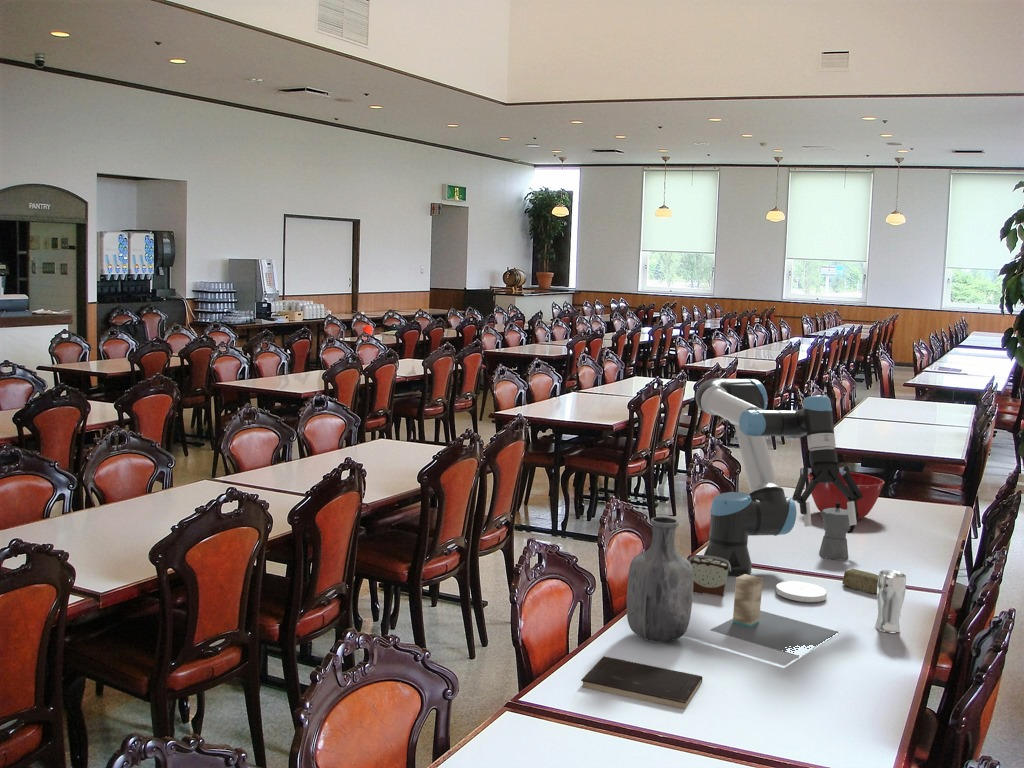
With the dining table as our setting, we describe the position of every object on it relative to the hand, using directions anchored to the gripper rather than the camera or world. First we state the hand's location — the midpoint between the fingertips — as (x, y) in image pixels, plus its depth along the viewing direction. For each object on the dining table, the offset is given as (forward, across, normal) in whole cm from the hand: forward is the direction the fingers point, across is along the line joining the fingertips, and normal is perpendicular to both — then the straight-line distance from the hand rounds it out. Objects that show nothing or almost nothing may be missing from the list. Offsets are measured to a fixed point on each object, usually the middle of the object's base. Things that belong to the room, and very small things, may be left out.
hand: (830, 525), depth 284 cm
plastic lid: (+19, -4, +14) cm, 24 cm away
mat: (+28, -26, -12) cm, 40 cm away
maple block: (+25, -31, -7) cm, 40 cm away
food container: (+17, -30, +18) cm, 39 cm away
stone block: (+18, +18, +19) cm, 32 cm away
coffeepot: (+6, +28, +51) cm, 59 cm away
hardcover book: (+38, -70, -40) cm, 89 cm away
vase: (+28, -58, -14) cm, 66 cm away
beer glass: (+28, +6, -12) cm, 32 cm away
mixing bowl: (-11, +59, +100) cm, 117 cm away
